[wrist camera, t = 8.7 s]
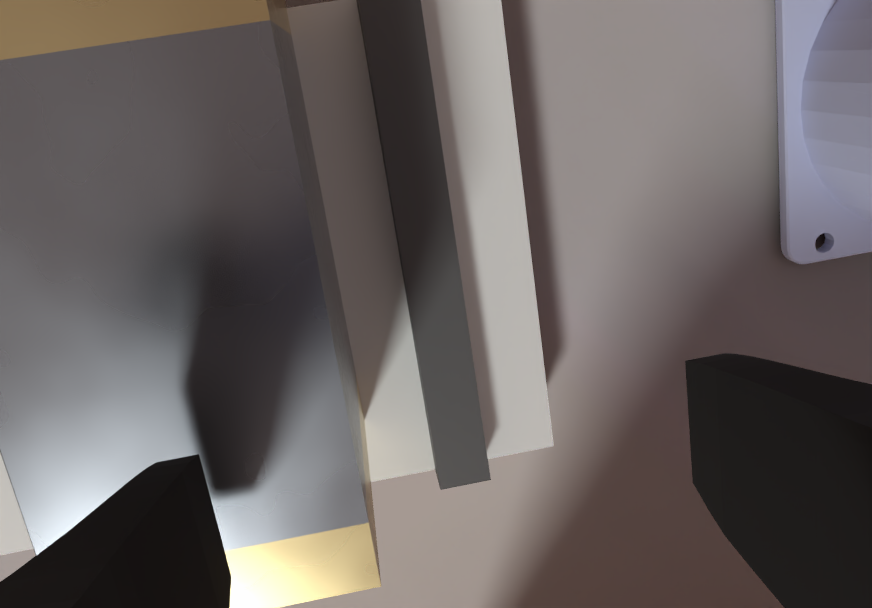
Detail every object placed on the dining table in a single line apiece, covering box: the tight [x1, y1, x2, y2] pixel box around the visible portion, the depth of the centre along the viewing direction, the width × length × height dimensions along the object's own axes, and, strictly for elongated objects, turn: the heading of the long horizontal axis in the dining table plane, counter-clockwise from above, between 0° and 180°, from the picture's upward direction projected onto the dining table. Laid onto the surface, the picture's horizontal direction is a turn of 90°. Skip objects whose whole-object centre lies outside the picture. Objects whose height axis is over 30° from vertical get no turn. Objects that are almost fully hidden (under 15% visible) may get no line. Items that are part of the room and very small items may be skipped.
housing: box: [0, 0, 381, 608], centre depth 15 cm, size 10×5×6 cm, turn 8°
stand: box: [0, 0, 554, 555], centre depth 19 cm, size 14×11×3 cm
